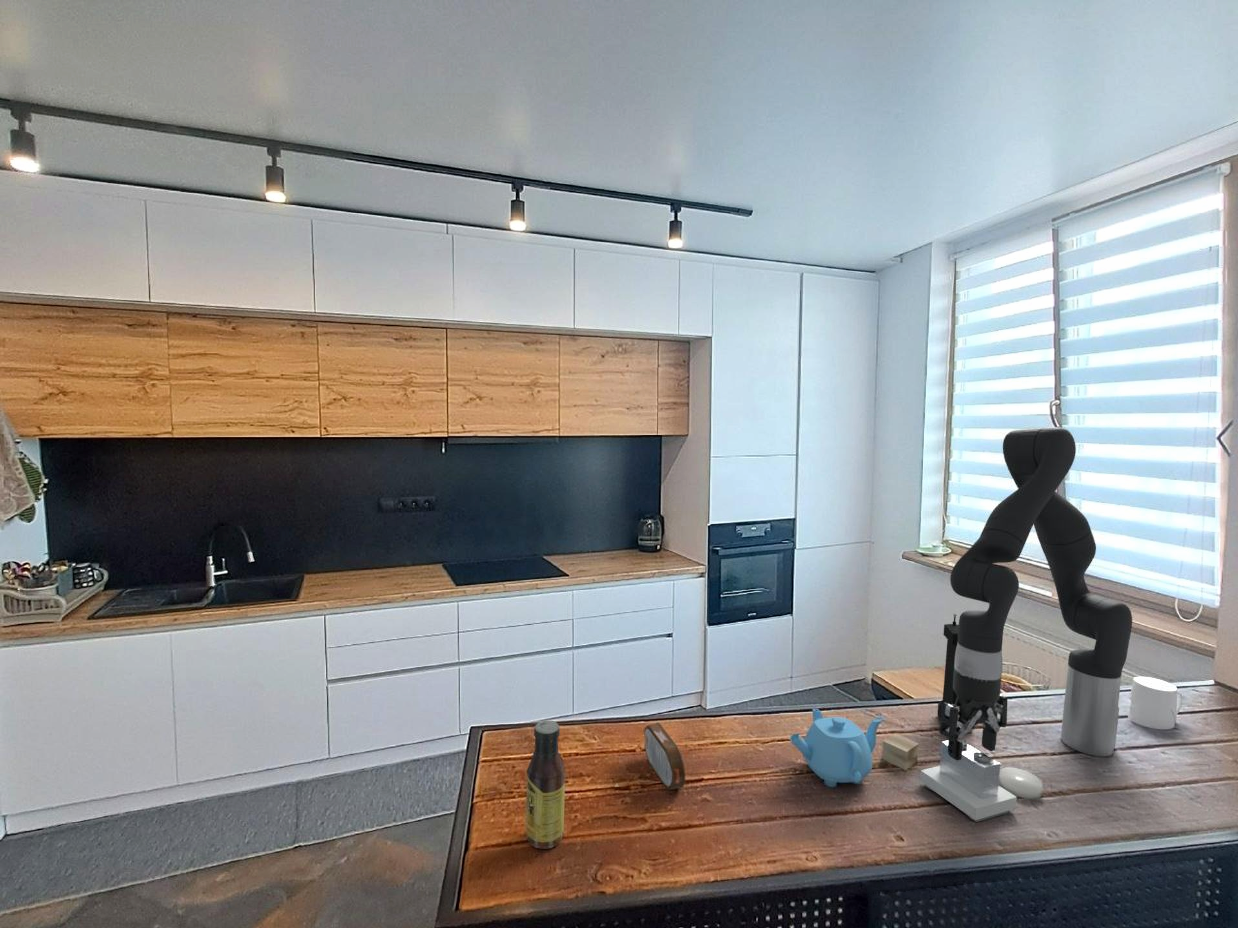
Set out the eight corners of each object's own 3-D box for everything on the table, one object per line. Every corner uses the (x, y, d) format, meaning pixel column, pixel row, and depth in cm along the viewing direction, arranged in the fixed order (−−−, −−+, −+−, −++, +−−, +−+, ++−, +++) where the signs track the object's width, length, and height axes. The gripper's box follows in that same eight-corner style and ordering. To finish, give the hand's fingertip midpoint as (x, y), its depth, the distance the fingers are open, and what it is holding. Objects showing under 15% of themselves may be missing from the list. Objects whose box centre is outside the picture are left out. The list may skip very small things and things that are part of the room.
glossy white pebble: (1015, 773, 124) (1016, 764, 124) (1050, 794, 118) (1051, 784, 117) (990, 780, 122) (991, 771, 121) (1024, 802, 115) (1025, 792, 115)
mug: (1154, 691, 142) (1121, 676, 150) (1150, 730, 143) (1117, 713, 151) (1199, 689, 144) (1164, 674, 151) (1194, 728, 144) (1160, 711, 152)
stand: (957, 775, 123) (959, 760, 123) (1015, 812, 112) (1016, 796, 112) (919, 784, 120) (920, 770, 119) (975, 824, 109) (976, 808, 108)
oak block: (893, 751, 132) (895, 733, 131) (917, 762, 128) (918, 743, 127) (881, 758, 129) (883, 740, 128) (905, 770, 125) (906, 751, 124)
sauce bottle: (527, 826, 105) (528, 714, 103) (564, 825, 106) (565, 713, 104) (524, 854, 99) (525, 735, 97) (563, 852, 99) (565, 734, 97)
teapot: (813, 744, 133) (816, 694, 132) (880, 768, 125) (884, 714, 124) (786, 778, 121) (789, 722, 120) (858, 806, 113) (862, 747, 112)
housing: (954, 767, 121) (957, 735, 120) (997, 794, 112) (1000, 760, 112) (939, 771, 119) (942, 738, 119) (981, 799, 111) (984, 764, 110)
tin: (685, 797, 114) (687, 753, 114) (670, 800, 113) (671, 756, 112) (655, 753, 128) (656, 714, 128) (640, 755, 127) (642, 716, 127)
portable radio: (976, 734, 139) (985, 626, 137) (947, 731, 140) (955, 624, 138) (964, 717, 147) (972, 615, 144) (936, 714, 148) (944, 612, 145)
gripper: (986, 656, 119) (980, 736, 121) (931, 666, 114) (926, 750, 116) (1024, 672, 112) (1017, 756, 114) (967, 684, 107) (961, 772, 109)
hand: (971, 753), depth 115 cm, fingers open, 8 cm apart
